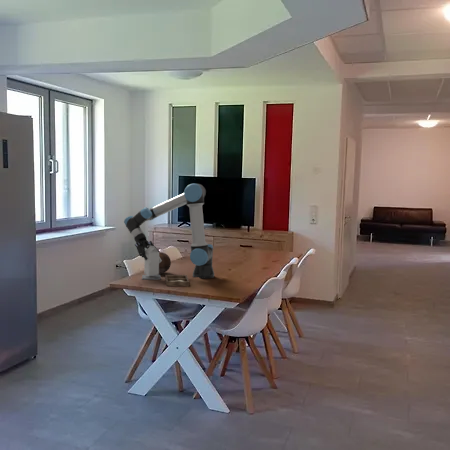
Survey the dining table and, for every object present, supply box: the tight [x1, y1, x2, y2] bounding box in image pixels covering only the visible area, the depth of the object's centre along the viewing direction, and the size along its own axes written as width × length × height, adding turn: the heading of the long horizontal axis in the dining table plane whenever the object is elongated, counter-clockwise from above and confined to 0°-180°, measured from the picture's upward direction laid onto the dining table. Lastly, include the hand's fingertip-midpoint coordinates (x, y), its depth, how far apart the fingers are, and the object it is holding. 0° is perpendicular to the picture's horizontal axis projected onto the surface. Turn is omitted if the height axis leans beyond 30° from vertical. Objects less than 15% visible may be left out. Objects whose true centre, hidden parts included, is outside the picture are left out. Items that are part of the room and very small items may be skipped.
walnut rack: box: [164, 274, 190, 287], centre depth 302 cm, size 14×21×4 cm, turn 9°
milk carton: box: [143, 245, 160, 275], centre depth 313 cm, size 7×7×19 cm
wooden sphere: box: [159, 251, 172, 274], centre depth 337 cm, size 15×15×15 cm
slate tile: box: [141, 274, 162, 281], centre depth 314 cm, size 12×12×2 cm
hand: (155, 262), depth 312 cm, fingers closed on milk carton, 9 cm apart
